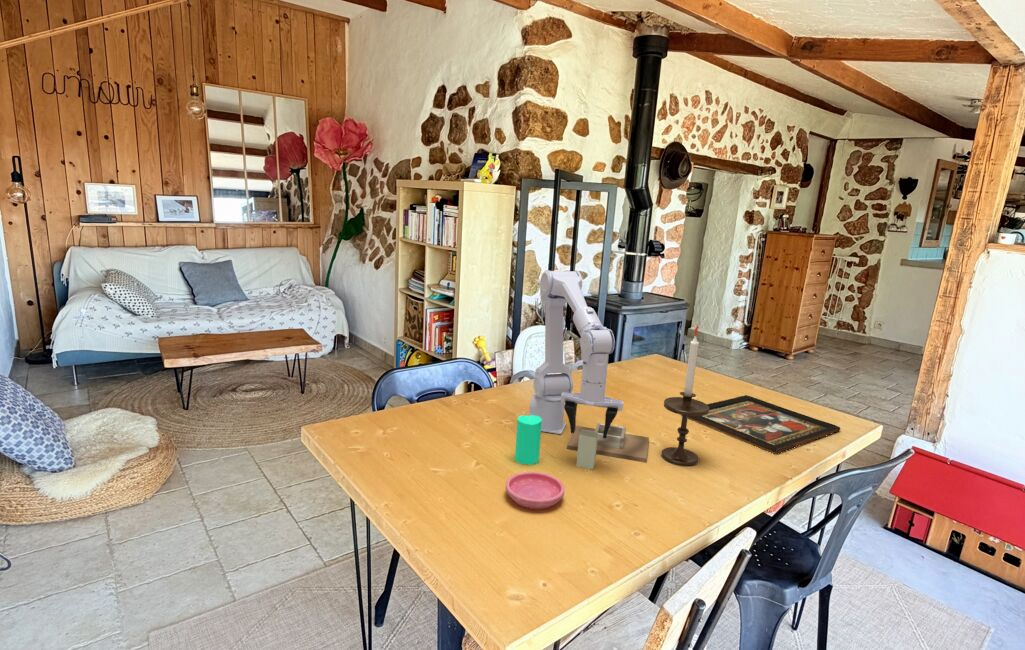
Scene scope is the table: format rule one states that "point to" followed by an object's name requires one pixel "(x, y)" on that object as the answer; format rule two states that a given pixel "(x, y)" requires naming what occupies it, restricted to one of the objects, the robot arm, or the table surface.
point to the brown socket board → (615, 443)
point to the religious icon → (763, 424)
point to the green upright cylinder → (528, 439)
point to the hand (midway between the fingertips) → (588, 434)
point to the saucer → (535, 489)
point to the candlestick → (685, 412)
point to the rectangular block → (587, 449)
